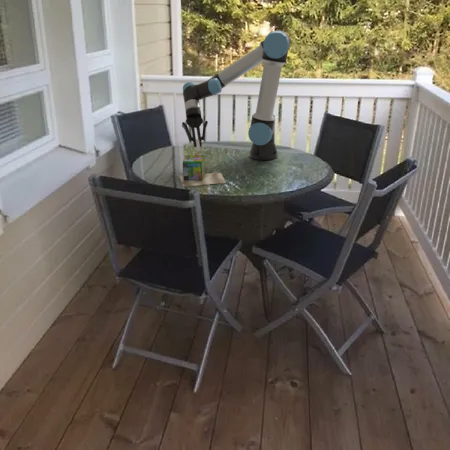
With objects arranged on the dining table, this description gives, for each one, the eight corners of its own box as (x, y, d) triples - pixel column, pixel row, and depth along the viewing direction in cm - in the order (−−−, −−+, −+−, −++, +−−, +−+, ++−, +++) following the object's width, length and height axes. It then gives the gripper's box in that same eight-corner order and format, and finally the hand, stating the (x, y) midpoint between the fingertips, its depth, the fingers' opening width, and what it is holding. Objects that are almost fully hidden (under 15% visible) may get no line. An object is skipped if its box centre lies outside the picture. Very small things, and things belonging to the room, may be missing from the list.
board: (220, 173, 249) (220, 172, 248) (226, 183, 234) (226, 182, 234) (179, 176, 246) (179, 175, 245) (182, 187, 231) (182, 185, 231)
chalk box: (205, 172, 249) (202, 182, 235) (186, 173, 249) (182, 183, 236) (204, 154, 245) (201, 163, 231) (185, 154, 245) (181, 163, 232)
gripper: (205, 114, 257) (211, 155, 249) (179, 116, 255) (184, 157, 247) (206, 105, 251) (212, 147, 242) (180, 107, 249) (185, 149, 240)
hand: (198, 152), depth 244 cm, fingers closed
